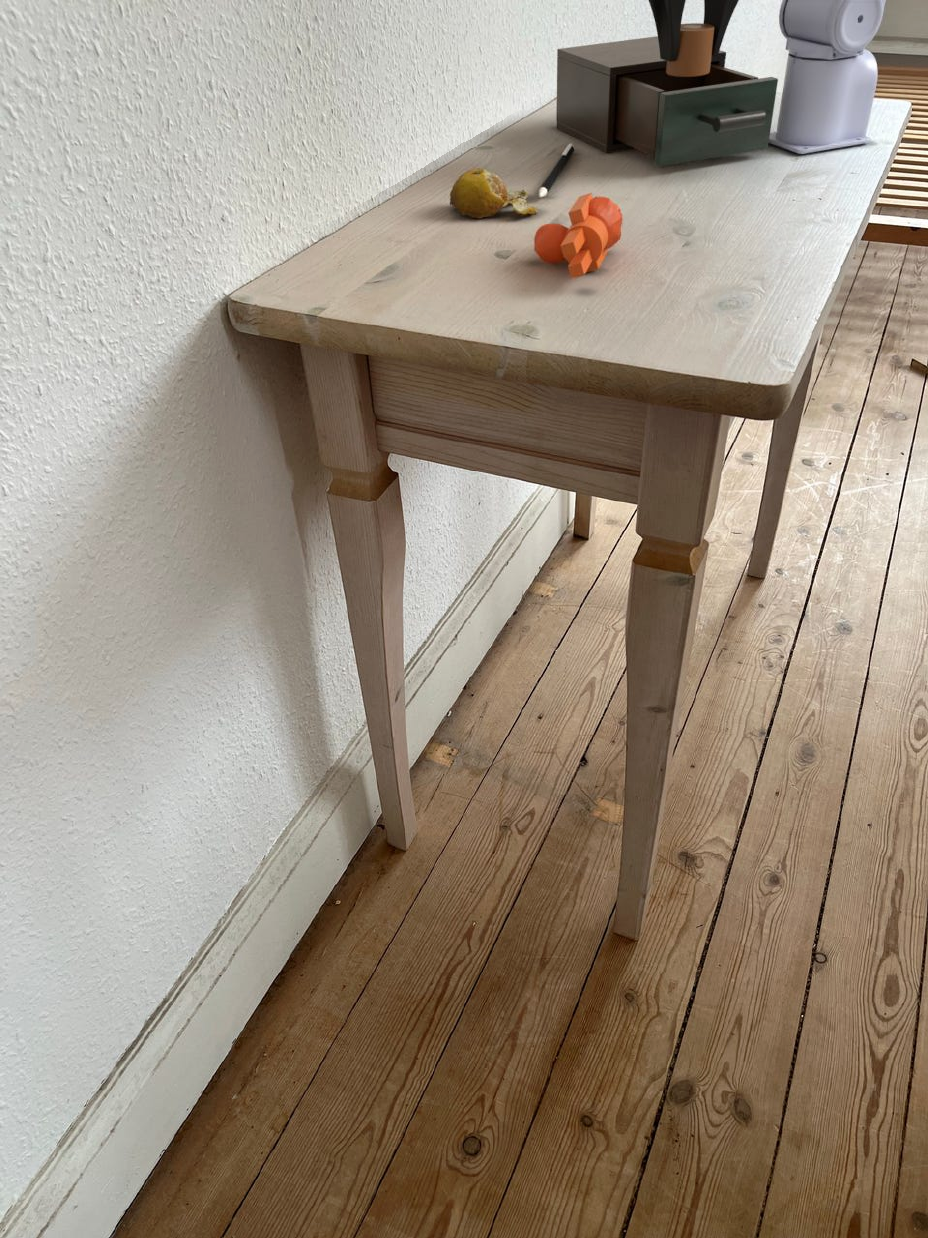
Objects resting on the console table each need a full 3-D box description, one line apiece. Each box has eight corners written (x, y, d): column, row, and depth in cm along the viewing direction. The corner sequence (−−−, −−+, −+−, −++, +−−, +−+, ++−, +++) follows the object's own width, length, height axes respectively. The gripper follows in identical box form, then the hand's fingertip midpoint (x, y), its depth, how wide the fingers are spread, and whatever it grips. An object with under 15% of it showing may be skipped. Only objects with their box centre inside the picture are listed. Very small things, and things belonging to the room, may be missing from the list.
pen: (576, 150, 108) (576, 139, 108) (544, 201, 94) (544, 189, 94) (568, 150, 108) (569, 139, 108) (535, 201, 95) (535, 189, 94)
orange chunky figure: (595, 218, 72) (622, 174, 81) (507, 245, 76) (542, 200, 84) (612, 281, 75) (637, 232, 84) (527, 305, 78) (558, 255, 87)
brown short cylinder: (694, 65, 99) (699, 20, 96) (718, 73, 95) (723, 26, 93) (658, 71, 97) (661, 25, 95) (680, 78, 94) (684, 31, 92)
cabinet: (716, 135, 111) (726, 51, 105) (606, 153, 107) (610, 67, 102) (659, 112, 121) (665, 34, 115) (556, 128, 117) (557, 48, 112)
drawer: (791, 158, 99) (803, 85, 95) (680, 176, 96) (688, 102, 92) (706, 124, 111) (713, 59, 107) (605, 140, 108) (608, 73, 104)
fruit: (540, 218, 91) (540, 178, 88) (456, 226, 90) (453, 186, 88) (524, 193, 97) (524, 155, 95) (445, 201, 96) (443, 162, 94)
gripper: (747, -120, 91) (728, 42, 100) (614, -108, 88) (607, 58, 97) (791, -118, 86) (768, 52, 95) (652, -105, 83) (641, 70, 92)
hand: (689, 56), depth 96 cm, fingers closed on brown short cylinder, 4 cm apart
